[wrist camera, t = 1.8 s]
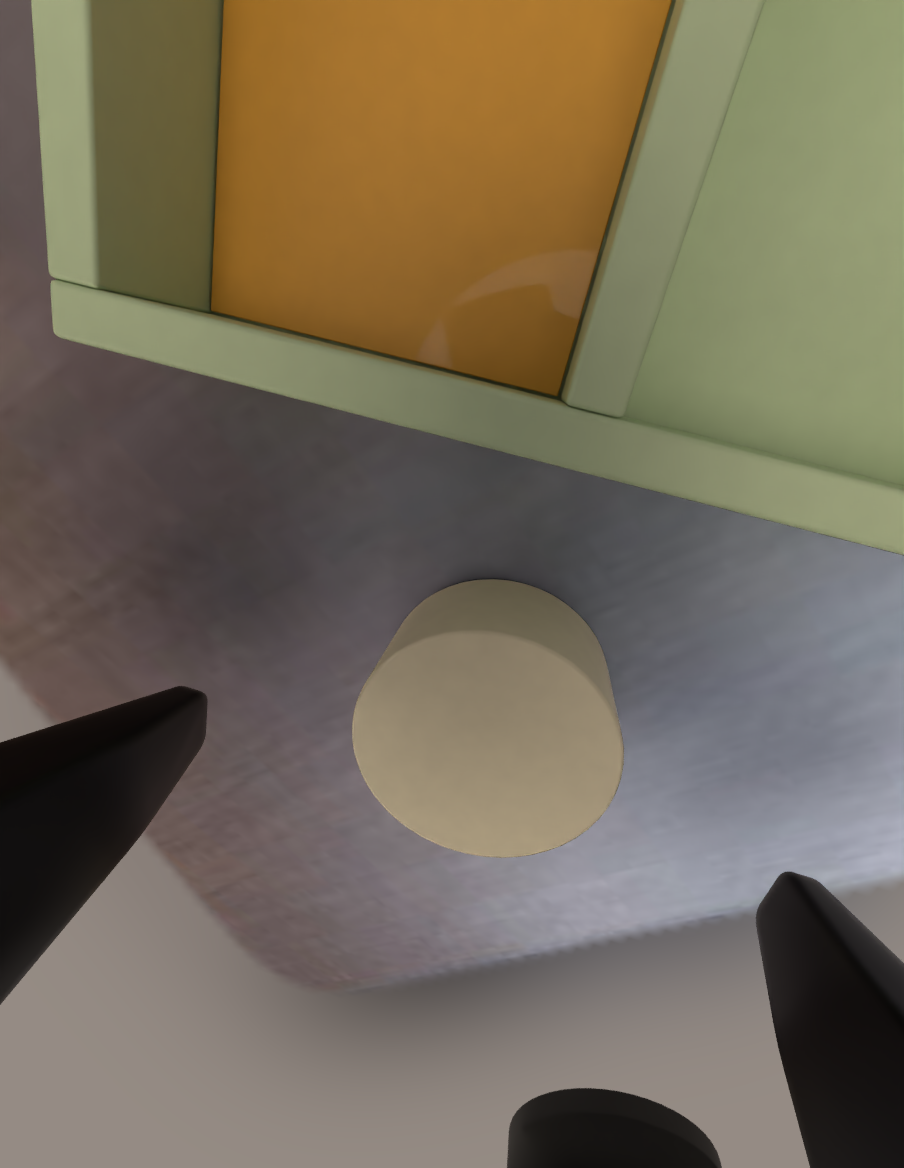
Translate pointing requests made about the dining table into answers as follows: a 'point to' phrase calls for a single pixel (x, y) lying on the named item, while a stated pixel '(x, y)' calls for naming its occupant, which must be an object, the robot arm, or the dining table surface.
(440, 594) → the cylinder
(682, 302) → the grid
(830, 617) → the dining table surface
